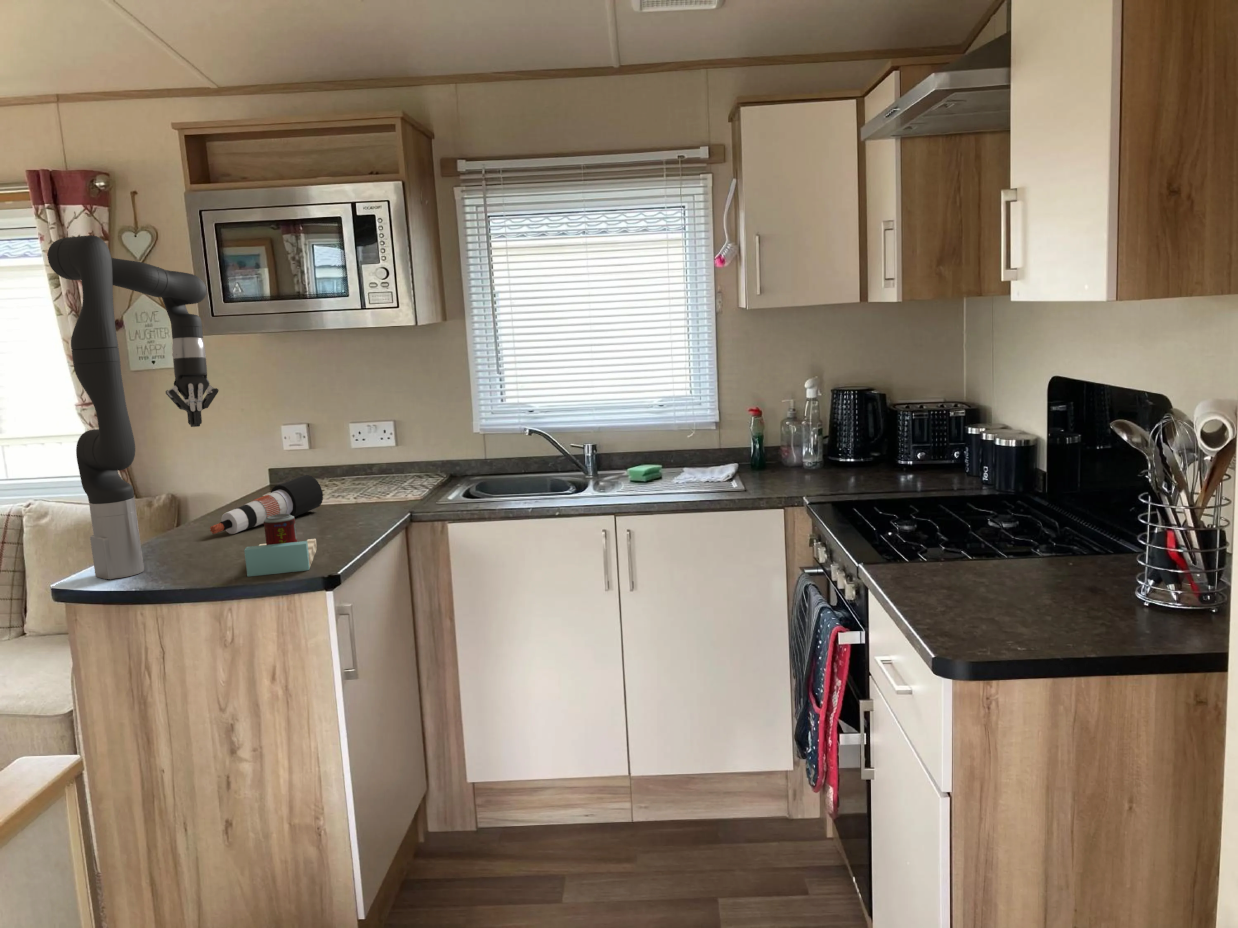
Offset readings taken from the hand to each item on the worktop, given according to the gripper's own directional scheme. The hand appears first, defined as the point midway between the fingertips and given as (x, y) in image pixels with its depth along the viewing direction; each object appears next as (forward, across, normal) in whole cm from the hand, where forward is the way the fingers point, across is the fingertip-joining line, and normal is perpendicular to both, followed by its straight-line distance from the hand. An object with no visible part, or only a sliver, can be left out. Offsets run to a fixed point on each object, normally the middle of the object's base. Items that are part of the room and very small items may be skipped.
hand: (195, 426), depth 247 cm
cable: (+28, +23, +11) cm, 38 cm away
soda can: (+33, 0, -36) cm, 49 cm away
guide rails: (+32, +3, -32) cm, 45 cm away
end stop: (+33, -3, -40) cm, 52 cm away
